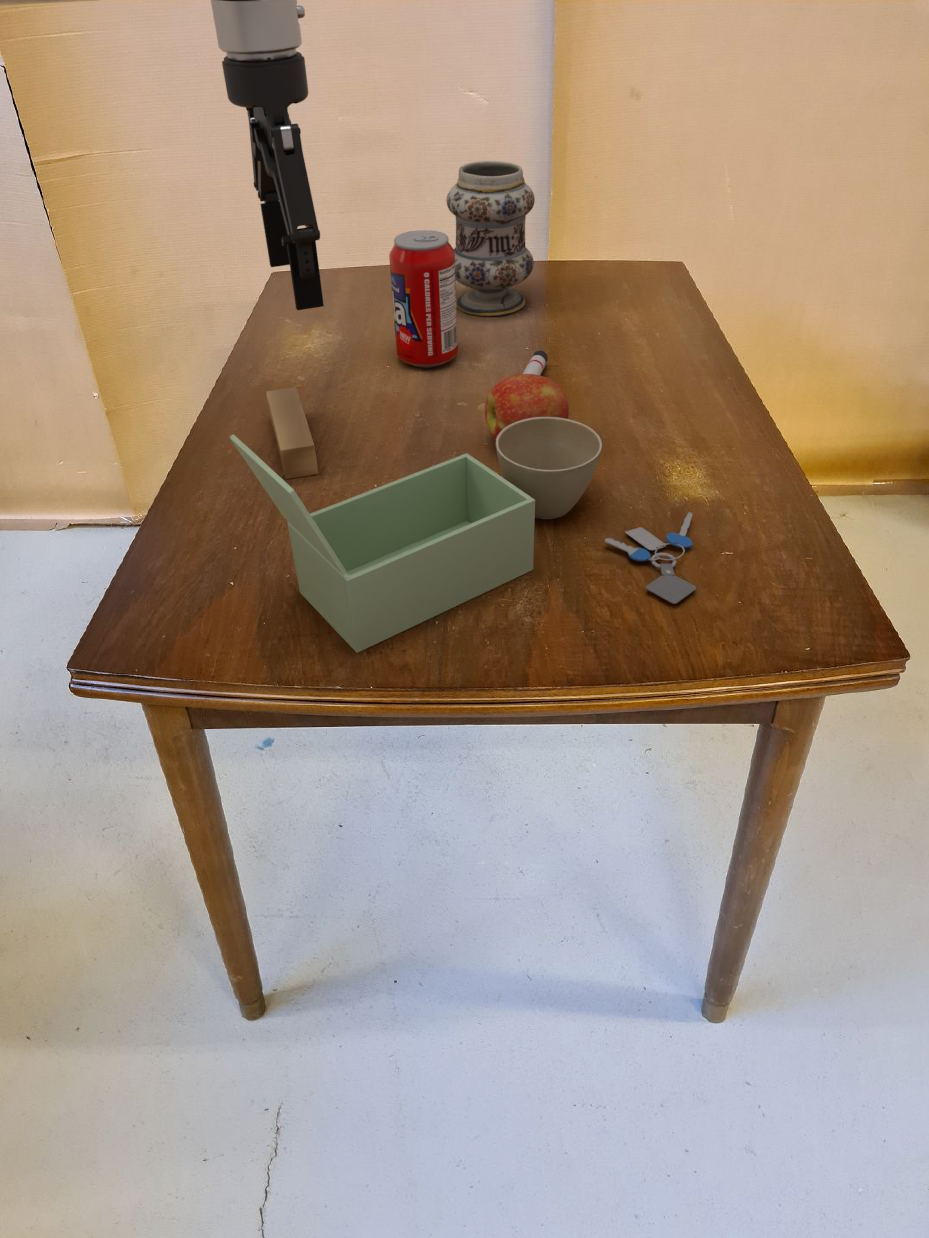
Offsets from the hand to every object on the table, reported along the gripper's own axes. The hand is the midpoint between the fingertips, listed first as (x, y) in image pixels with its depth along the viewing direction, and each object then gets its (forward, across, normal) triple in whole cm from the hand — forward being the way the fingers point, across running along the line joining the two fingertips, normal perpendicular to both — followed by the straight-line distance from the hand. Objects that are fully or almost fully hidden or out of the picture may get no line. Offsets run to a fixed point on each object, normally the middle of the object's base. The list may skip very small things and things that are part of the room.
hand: (295, 285), depth 97 cm
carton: (+15, -35, -1) cm, 38 cm away
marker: (+15, -5, -25) cm, 30 cm away
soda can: (+15, +9, -17) cm, 24 cm away
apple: (+15, -17, -20) cm, 30 cm away
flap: (+2, -38, +9) cm, 39 cm away
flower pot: (+15, -28, -17) cm, 36 cm away
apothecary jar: (+15, +22, -31) cm, 41 cm away
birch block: (+15, -7, +4) cm, 17 cm away
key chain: (+15, -40, -22) cm, 48 cm away
